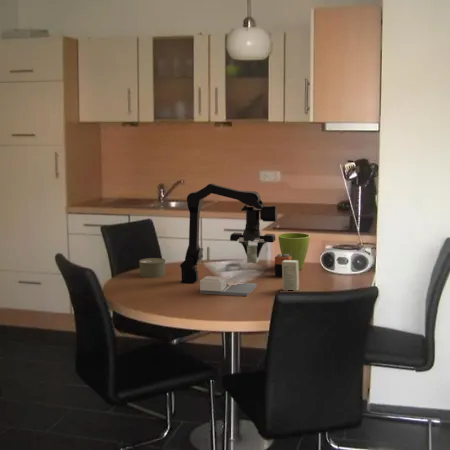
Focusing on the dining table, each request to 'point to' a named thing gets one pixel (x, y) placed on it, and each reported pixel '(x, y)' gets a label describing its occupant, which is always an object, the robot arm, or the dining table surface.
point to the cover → (213, 283)
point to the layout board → (234, 289)
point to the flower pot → (294, 246)
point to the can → (152, 267)
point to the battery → (280, 263)
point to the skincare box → (290, 275)
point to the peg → (252, 254)
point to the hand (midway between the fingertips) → (252, 257)
